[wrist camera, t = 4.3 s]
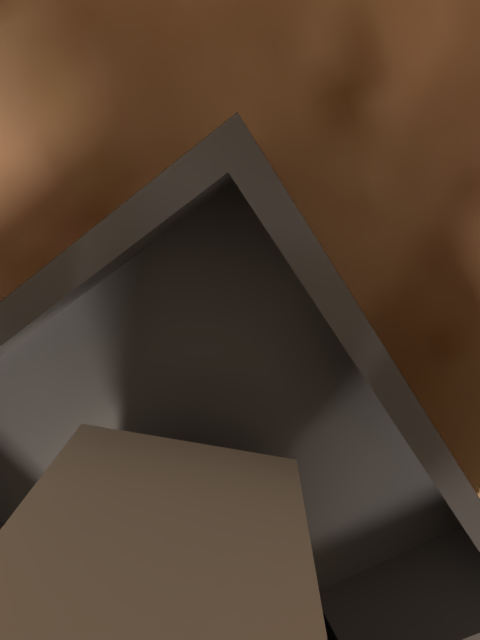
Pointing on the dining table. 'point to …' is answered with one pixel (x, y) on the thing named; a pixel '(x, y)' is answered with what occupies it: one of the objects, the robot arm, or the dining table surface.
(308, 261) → the charcoal bin
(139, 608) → the stone block
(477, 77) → the dining table surface
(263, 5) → the dining table surface
